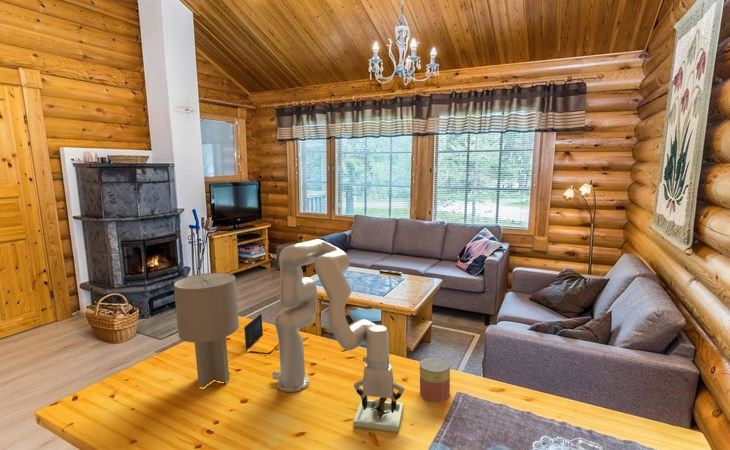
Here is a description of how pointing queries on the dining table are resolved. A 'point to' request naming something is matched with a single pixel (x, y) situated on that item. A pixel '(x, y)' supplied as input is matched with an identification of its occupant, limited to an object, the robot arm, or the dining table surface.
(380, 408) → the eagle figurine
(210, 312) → the lamp
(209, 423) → the dining table surface
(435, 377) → the canned food
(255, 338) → the laptop
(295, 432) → the dining table surface
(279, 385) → the robot arm
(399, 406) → the tray
